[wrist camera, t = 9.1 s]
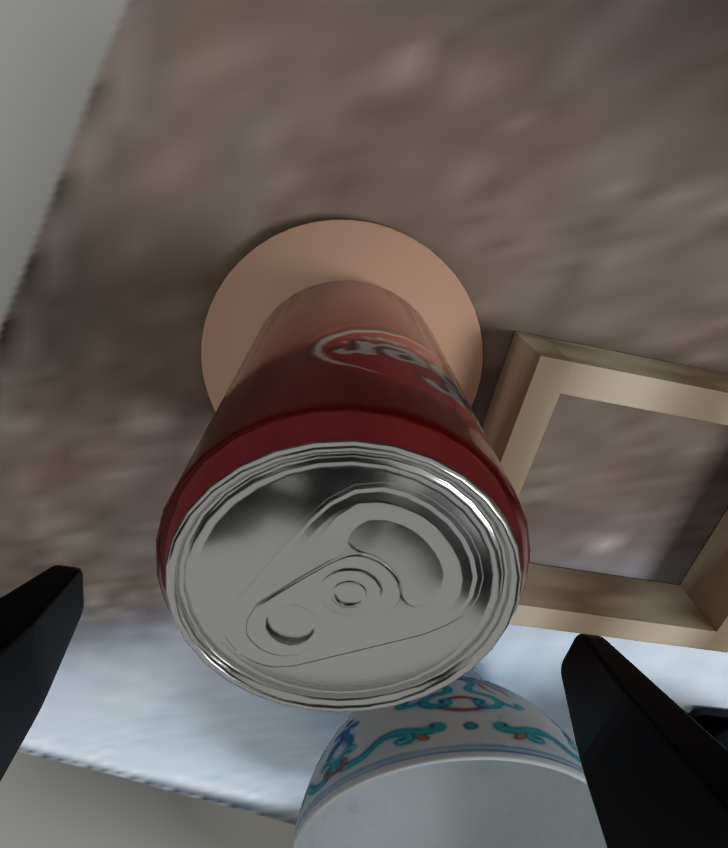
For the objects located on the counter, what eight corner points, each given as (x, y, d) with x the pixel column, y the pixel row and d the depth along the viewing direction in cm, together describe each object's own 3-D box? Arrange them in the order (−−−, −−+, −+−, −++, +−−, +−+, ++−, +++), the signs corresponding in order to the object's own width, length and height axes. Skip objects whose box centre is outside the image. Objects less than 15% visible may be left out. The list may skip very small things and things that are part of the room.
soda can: (381, 237, 18) (431, 337, 7) (468, 399, 21) (595, 642, 10) (214, 339, 20) (53, 548, 9) (317, 478, 22) (290, 763, 12)
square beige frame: (826, 394, 22) (893, 425, 19) (689, 605, 27) (726, 652, 25) (514, 331, 20) (540, 355, 18) (432, 568, 26) (442, 615, 23)
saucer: (517, 254, 19) (522, 256, 19) (437, 497, 24) (440, 504, 23) (216, 187, 18) (212, 188, 17) (195, 458, 23) (192, 465, 22)
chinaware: (611, 650, 29) (694, 802, 22) (479, 795, 35) (513, 950, 28) (366, 573, 26) (373, 721, 19) (268, 746, 32) (246, 907, 25)
